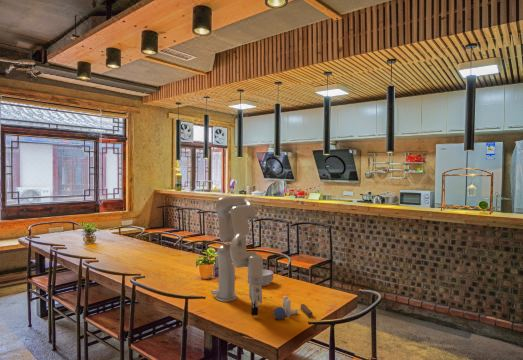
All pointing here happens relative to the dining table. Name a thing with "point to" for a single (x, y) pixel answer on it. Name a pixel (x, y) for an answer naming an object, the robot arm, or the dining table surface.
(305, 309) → the wall
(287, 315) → the back right pin
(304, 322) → the dining table surface
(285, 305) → the back left pin
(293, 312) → the front pin
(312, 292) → the dining table surface
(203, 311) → the dining table surface
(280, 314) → the ball
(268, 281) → the paper bowls
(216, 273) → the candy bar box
